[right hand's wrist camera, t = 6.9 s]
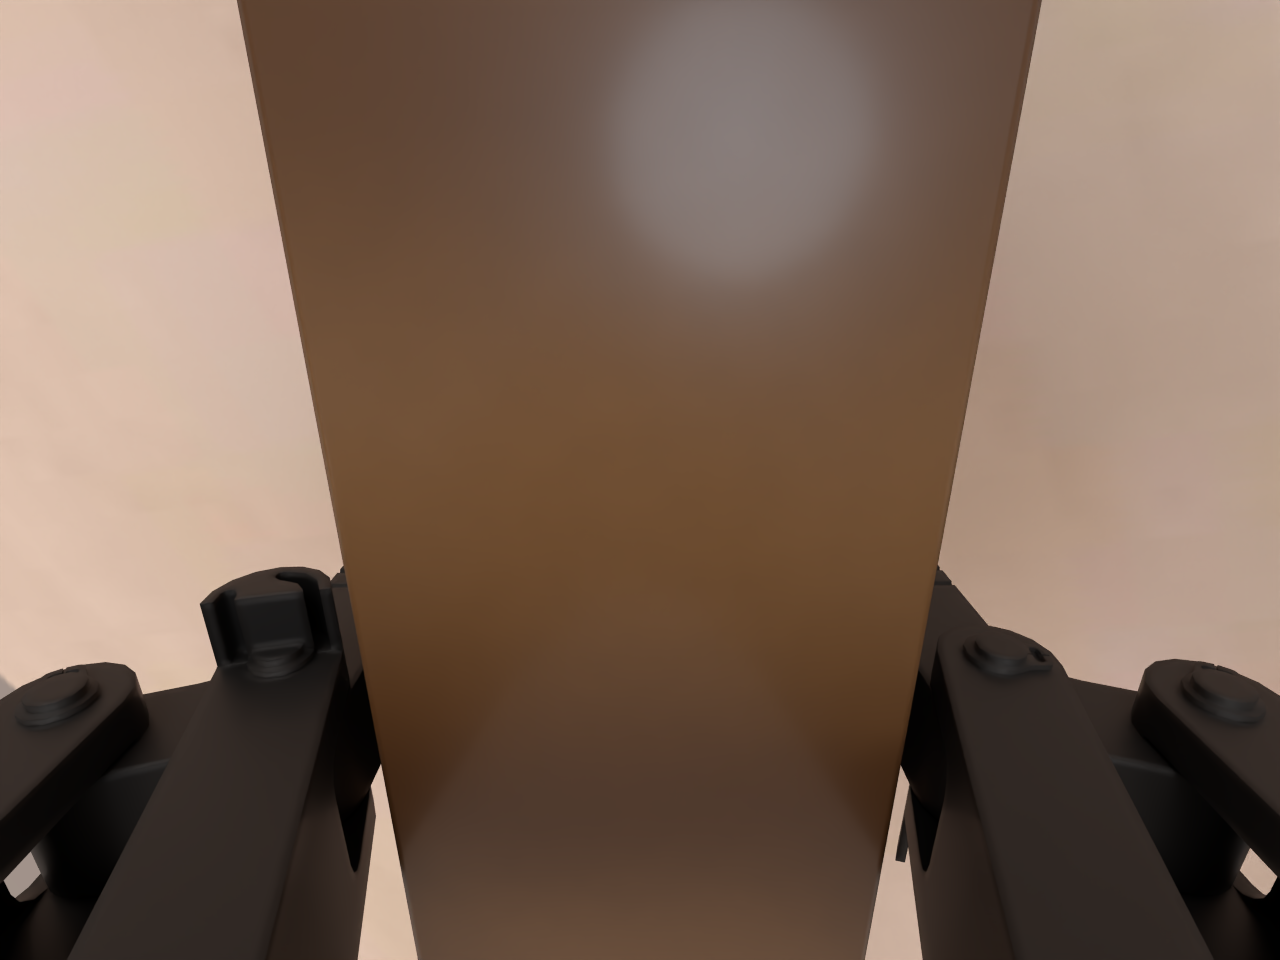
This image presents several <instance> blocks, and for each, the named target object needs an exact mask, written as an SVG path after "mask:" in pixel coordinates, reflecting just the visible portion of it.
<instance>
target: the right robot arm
mask: <svg viewBox="0 0 1280 960" xmlns="http://www.w3.org/2000/svg"><path fill="white" fill-rule="evenodd" d="M939 568H940V567H939V566H938V565H937V570H936V576H935V581H934V587H933V592H932V598H931V603H930V608H929V614H928V619H927V625H926V630H925V636H924V641H923V646H922V652H921V657H920V663H919V668H918V673H917V679H916V684H915V690H914V695H913V701H912V706H911V711H910V717H909V722H908V728H907V733H906V738H905V744H904V749H903V755H902V760H901V767H902V769H903V771H904V773H905V775H906V777H907V779H908V782H909V784H910V785H909V790H908V795H907V800H906V805H905V810H904V815H903V820H902V825H901V830H900V836H899V841H898V846H897V853H896V861H901V862H905V859H906V854H907V849H909V856H910V864H911V872H912V880H913V887H914V895H915V903H916V911H917V919H918V926H919V934H920V942H921V950H922V958H923V960H1280V696H1279V695H1278V694H1276V693H1274V692H1273V691H1271V690H1270V689H1268V688H1266V687H1265V686H1263V685H1262V684H1260V683H1258V682H1256V681H1254V680H1251V679H1249V678H1247V677H1245V676H1242V675H1240V674H1238V673H1237V672H1235V671H1234V670H1231V669H1228V668H1225V667H1222V666H1219V665H1218V666H1214V664H1211V663H1206V662H1201V661H1189V660H1180V659H1171V660H1163V661H1156V662H1154V663H1153V664H1152V665H1150V666H1149V667H1148V668H1146V669H1145V671H1144V674H1143V677H1142V680H1141V683H1140V686H1139V689H1138V692H1137V691H1132V690H1127V689H1122V688H1117V687H1112V686H1107V685H1101V684H1096V683H1091V682H1086V681H1081V680H1077V679H1073V678H1069V677H1068V675H1067V674H1066V672H1065V670H1064V668H1063V666H1062V665H1061V663H1060V662H1059V661H1058V660H1057V659H1056V658H1055V656H1054V655H1053V654H1052V653H1051V652H1050V651H1049V650H1047V649H1046V648H1044V647H1043V646H1041V645H1040V644H1038V643H1037V642H1035V641H1034V640H1032V639H1029V638H1027V637H1025V636H1022V635H1020V634H1017V633H1015V632H1013V631H1010V630H1006V629H1001V628H997V627H993V626H988V625H987V623H986V622H985V621H984V620H983V619H982V617H981V616H980V615H979V614H978V613H977V611H976V610H975V609H974V608H973V607H972V605H971V604H970V603H969V602H968V601H967V599H966V598H965V597H964V596H963V595H962V593H961V592H960V591H959V590H958V589H957V587H956V586H955V585H952V584H951V580H950V579H949V578H948V577H947V575H946V574H945V573H944V572H943V571H942V570H940V569H939ZM200 607H201V610H202V614H203V617H204V621H205V624H206V628H207V631H208V635H209V638H210V642H211V645H212V649H213V652H214V656H215V659H216V663H217V666H218V667H217V669H216V671H215V673H214V675H213V677H212V679H211V681H207V682H203V683H199V684H194V685H189V686H184V687H179V688H174V689H169V690H164V691H159V692H154V693H148V694H142V691H141V688H140V685H139V682H138V679H137V676H136V673H135V672H134V671H132V670H131V669H130V668H128V667H127V666H126V665H123V664H115V663H108V662H103V663H94V664H86V665H76V666H71V667H67V668H66V669H65V670H63V669H60V670H57V671H54V672H50V673H48V674H46V675H44V676H43V677H41V678H39V679H37V680H35V681H32V682H30V683H28V684H25V685H23V686H21V687H20V688H18V689H16V690H15V691H13V692H12V693H10V694H9V695H7V696H5V697H4V698H2V699H1V700H0V960H358V952H359V944H360V936H361V928H362V920H363V913H364V905H365V897H366V889H367V881H368V874H369V866H370V858H371V850H372V842H373V835H374V827H375V819H376V814H375V806H374V800H373V795H372V790H371V784H372V782H373V780H374V778H375V775H376V773H377V771H378V769H379V767H380V765H381V760H380V755H379V750H378V744H377V739H376V734H375V729H374V723H373V718H372V713H371V707H370V702H369V697H368V691H367V686H366V681H365V676H364V670H363V665H362V660H361V654H360V649H359V644H358V639H357V633H356V628H355V623H354V617H353V612H352V607H351V601H350V596H349V591H348V586H347V580H346V575H345V570H344V566H343V567H342V568H341V569H340V573H337V574H336V575H335V577H334V578H333V579H332V580H331V581H330V578H329V577H328V576H327V575H325V574H324V573H323V572H321V571H320V570H316V569H311V568H306V567H279V568H274V569H269V570H264V571H258V572H255V573H252V574H249V575H246V576H243V577H240V578H237V579H235V580H232V581H230V582H228V583H227V584H225V585H223V586H221V587H219V588H218V589H216V590H214V591H212V592H211V593H210V594H209V595H208V596H207V597H206V598H205V599H204V600H203V601H202V602H201V603H200ZM1250 848H1251V849H1252V850H1253V851H1254V852H1255V853H1256V854H1257V855H1258V856H1259V857H1260V859H1261V860H1262V861H1263V862H1264V863H1265V864H1266V865H1267V866H1268V867H1269V868H1270V869H1271V870H1272V871H1273V872H1274V873H1275V874H1276V875H1277V879H1276V881H1275V883H1274V885H1273V887H1272V889H1271V891H1270V892H1269V893H1268V894H1267V895H1264V894H1262V893H1261V892H1260V891H1259V890H1258V889H1257V888H1256V887H1254V886H1253V885H1252V884H1251V883H1250V882H1249V880H1248V879H1247V878H1246V877H1245V876H1244V875H1243V874H1242V873H1241V871H1240V868H1241V866H1242V864H1243V862H1244V860H1245V858H1246V855H1247V853H1248V851H1249V849H1250ZM30 851H31V853H32V855H33V857H34V859H35V861H36V863H37V866H38V868H39V870H40V872H41V874H40V875H39V876H38V877H37V878H36V880H35V881H34V882H33V883H32V884H31V885H30V886H29V887H28V888H27V889H26V890H25V891H23V892H22V893H21V894H20V895H18V896H17V897H16V898H14V897H13V896H12V895H11V894H10V892H9V891H8V888H7V886H6V884H5V882H4V879H5V878H6V877H7V876H8V875H9V874H10V873H11V872H12V871H13V870H14V869H15V868H16V866H17V865H18V864H19V863H20V862H21V861H22V860H23V859H24V858H25V857H26V856H27V855H28V854H29V853H30Z"/></svg>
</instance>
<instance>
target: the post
mask: <svg viewBox="0 0 1280 960" xmlns="http://www.w3.org/2000/svg"><path fill="white" fill-rule="evenodd" d="M1041 2H1042V0H237V3H238V8H239V14H240V19H241V24H242V30H243V35H244V40H245V45H246V51H247V56H248V61H249V67H250V72H251V77H252V83H253V88H254V93H255V98H256V104H257V109H258V114H259V120H260V125H261V130H262V136H263V141H264V146H265V151H266V157H267V162H268V167H269V173H270V178H271V183H272V188H273V194H274V199H275V204H276V210H277V215H278V220H279V226H280V231H281V236H282V241H283V247H284V252H285V257H286V263H287V268H288V273H289V278H290V284H291V289H292V294H293V300H294V305H295V310H296V316H297V321H298V326H299V331H300V337H301V342H302V347H303V353H304V358H305V363H306V368H307V374H308V379H309V384H310V390H311V395H312V400H313V406H314V411H315V416H316V421H317V427H318V432H319V437H320V443H321V448H322V453H323V458H324V464H325V469H326V474H327V480H328V485H329V490H330V496H331V501H332V506H333V511H334V517H335V522H336V527H337V533H338V538H339V543H340V549H341V554H342V559H343V564H344V570H345V575H346V580H347V586H348V591H349V596H350V601H351V607H352V612H353V617H354V623H355V628H356V633H357V639H358V644H359V649H360V654H361V660H362V665H363V670H364V676H365V681H366V686H367V691H368V697H369V702H370V707H371V713H372V718H373V723H374V729H375V734H376V739H377V744H378V750H379V755H380V760H381V766H382V771H383V776H384V781H385V787H386V792H387V797H388V803H389V808H390V813H391V819H392V824H393V829H394V834H395V840H396V845H397V850H398V856H399V861H400V866H401V871H402V877H403V882H404V887H405V893H406V898H407V903H408V909H409V914H410V919H411V924H412V930H413V935H414V940H415V946H416V951H417V956H418V960H865V955H866V950H867V944H868V939H869V933H870V928H871V923H872V917H873V912H874V906H875V901H876V896H877V890H878V885H879V879H880V874H881V868H882V863H883V858H884V852H885V847H886V841H887V836H888V831H889V825H890V820H891V814H892V809H893V803H894V798H895V793H896V787H897V782H898V776H899V771H900V766H901V760H902V755H903V749H904V744H905V738H906V733H907V728H908V722H909V717H910V711H911V706H912V701H913V695H914V690H915V684H916V679H917V673H918V668H919V663H920V657H921V652H922V646H923V641H924V636H925V630H926V625H927V619H928V614H929V608H930V603H931V598H932V592H933V587H934V581H935V576H936V570H937V565H938V560H939V554H940V549H941V543H942V538H943V533H944V527H945V522H946V516H947V511H948V505H949V500H950V495H951V489H952V484H953V478H954V473H955V468H956V462H957V457H958V451H959V446H960V440H961V435H962V430H963V424H964V419H965V413H966V408H967V403H968V397H969V392H970V386H971V381H972V375H973V370H974V365H975V359H976V354H977V348H978V343H979V338H980V332H981V327H982V321H983V316H984V310H985V305H986V300H987V294H988V289H989V283H990V278H991V273H992V267H993V262H994V256H995V251H996V245H997V240H998V235H999V229H1000V224H1001V218H1002V213H1003V207H1004V202H1005V197H1006V191H1007V186H1008V180H1009V175H1010V170H1011V164H1012V159H1013V153H1014V148H1015V142H1016V137H1017V132H1018V126H1019V121H1020V115H1021V110H1022V105H1023V99H1024V94H1025V88H1026V83H1027V77H1028V72H1029V67H1030V61H1031V56H1032V50H1033V45H1034V40H1035V34H1036V29H1037V23H1038V18H1039V12H1040V7H1041Z"/></svg>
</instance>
